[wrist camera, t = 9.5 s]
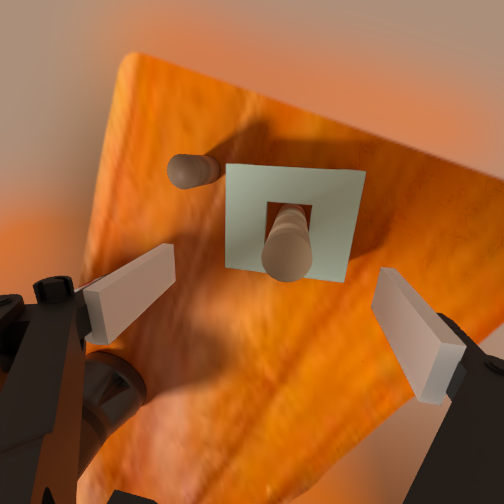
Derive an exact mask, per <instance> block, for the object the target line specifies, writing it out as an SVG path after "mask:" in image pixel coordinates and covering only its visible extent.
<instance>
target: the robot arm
mask: <svg viewBox="0 0 504 504" xmlns="http://www.w3.org/2000/svg"><path fill="white" fill-rule="evenodd" d="M175 281H176V276H175V261H174V245H173V244H166V243H162V244H161V245H159V246H157V247H155V248H154V249H152V250H150V251H148V252H147V253H145V254H143V255H142V256H140V257H138V258H136V259H135V260H133V261H131V262H130V263H128V264H126V265H124V266H123V267H121V268H119V269H118V270H116V271H114V272H112V273H110V274H107V275H105V276H103V277H101V278H99V280H96V281H94V282H92V284H89V285H87V286H86V287H84V288H82V289H80V290H79V291H77V292H75V291H74V287H73V282H72V279H71V277H69V276H54V277H49V278H46V279H42V280H40V281H38V282H36V283H35V284H34V285H33V288H34V292H35V295H36V299H37V302H38V303H37V304H24V301H23V298H22V296H21V295H18V294H9V295H0V504H76V491H77V481H78V479H79V478H80V477H81V475H82V474H83V472H84V471H85V469H86V468H87V467H88V465H89V464H90V462H91V461H92V459H93V458H94V457H95V455H96V454H97V452H98V451H99V449H100V448H101V447H102V445H103V444H104V442H105V441H106V440H107V438H108V437H109V436H110V435H111V434H113V433H114V432H115V431H116V430H117V429H118V428H120V427H121V426H122V425H123V424H124V423H125V422H126V421H127V420H128V419H129V418H131V417H132V416H134V415H135V414H136V412H137V411H138V410H139V408H140V407H141V405H142V404H143V402H144V400H145V398H146V389H145V385H144V382H143V380H142V379H141V377H140V375H139V374H138V373H137V372H136V370H135V369H134V368H133V367H132V366H130V365H129V364H128V363H127V362H125V361H124V360H122V359H120V358H118V357H116V356H114V355H111V354H108V353H102V352H94V353H90V354H88V355H86V340H85V336H87V335H88V334H89V333H90V332H92V336H93V340H94V342H95V343H100V344H106V345H109V344H110V343H111V342H112V341H113V340H114V339H116V338H117V337H118V336H119V335H120V334H121V333H122V332H123V331H124V330H125V329H126V328H127V327H128V326H129V325H130V324H131V323H132V322H133V321H134V320H136V319H137V318H138V317H139V316H140V315H141V314H142V313H143V312H144V311H145V310H146V309H147V308H148V307H149V306H150V305H151V304H152V303H153V302H154V301H155V300H157V299H158V298H159V297H160V296H161V295H162V294H163V293H164V292H165V291H166V290H167V289H168V288H169V287H170V286H171V285H172V284H173V283H174V282H175ZM371 308H372V310H373V312H374V314H375V316H376V318H377V320H378V322H379V324H380V326H381V328H382V330H383V332H384V334H385V336H386V338H387V340H388V342H389V344H390V346H391V348H392V350H393V352H394V354H395V356H396V358H397V359H398V361H399V363H400V365H401V367H402V369H403V371H404V373H405V375H406V377H407V379H408V381H409V383H410V385H411V387H412V389H413V391H414V393H415V395H416V397H417V399H418V401H419V402H424V403H430V404H435V405H441V404H442V402H443V399H444V397H445V395H446V393H447V395H448V396H449V398H450V399H451V401H452V403H451V405H450V407H449V409H448V412H447V414H446V416H445V418H444V420H443V422H442V424H441V426H440V428H439V430H438V432H437V434H436V436H435V438H434V440H433V442H432V444H431V446H430V449H429V451H428V453H427V455H426V457H425V459H424V461H423V463H422V465H421V467H420V469H419V471H418V473H417V475H416V477H415V479H414V481H413V483H412V485H411V487H410V489H409V492H408V493H407V496H406V498H405V500H404V502H403V504H504V360H502V359H499V358H497V357H494V356H491V355H486V354H485V353H484V352H483V351H482V350H481V349H480V348H479V347H478V346H477V345H476V344H475V343H474V342H473V341H472V339H471V338H470V337H469V336H467V334H466V333H465V332H464V331H463V330H460V327H459V326H458V325H457V324H456V323H455V322H454V321H453V320H451V319H450V318H448V317H446V316H445V315H443V314H442V313H436V312H435V311H434V310H433V309H432V308H431V307H430V306H429V305H428V304H427V303H426V302H425V301H424V299H423V298H422V297H421V296H420V295H419V294H418V293H417V292H416V291H415V290H414V289H413V288H412V286H411V285H410V284H409V283H408V282H407V281H406V280H405V279H404V278H403V277H402V276H401V275H400V273H399V272H398V271H397V270H396V269H395V268H386V267H381V269H380V273H379V277H378V281H377V285H376V289H375V293H374V297H373V301H372V305H371ZM107 504H158V503H156V502H155V501H154V500H151V499H147V498H144V497H140V496H137V495H133V494H129V493H126V492H122V491H119V490H114V492H113V494H112V495H111V497H110V499H109V501H108V502H107Z"/></svg>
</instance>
